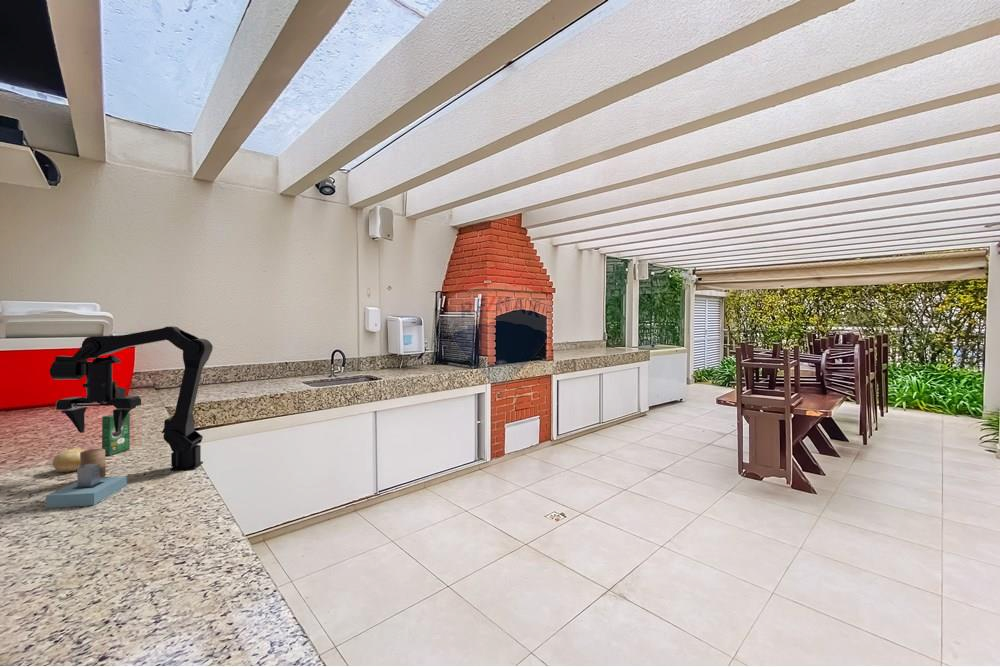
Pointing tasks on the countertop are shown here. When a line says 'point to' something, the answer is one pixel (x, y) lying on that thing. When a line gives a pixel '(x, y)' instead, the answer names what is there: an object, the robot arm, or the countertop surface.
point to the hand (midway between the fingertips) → (100, 432)
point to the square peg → (88, 476)
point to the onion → (67, 460)
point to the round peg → (94, 459)
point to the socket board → (85, 493)
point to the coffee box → (115, 435)
